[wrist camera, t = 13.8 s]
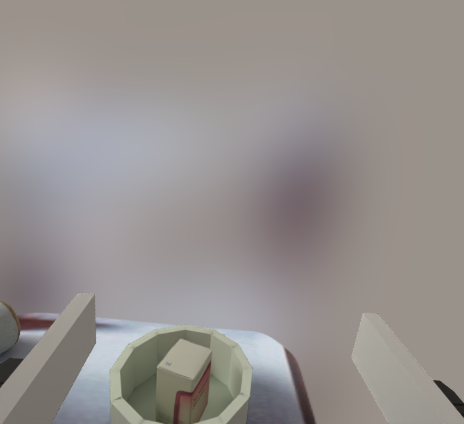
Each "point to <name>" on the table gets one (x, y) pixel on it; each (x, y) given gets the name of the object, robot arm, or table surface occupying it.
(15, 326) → the ceramic mug
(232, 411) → the sage bowl
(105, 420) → the table surface
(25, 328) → the table surface
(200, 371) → the small box
